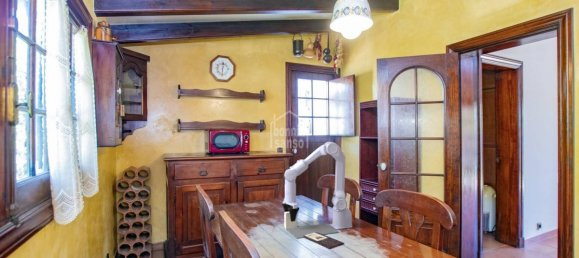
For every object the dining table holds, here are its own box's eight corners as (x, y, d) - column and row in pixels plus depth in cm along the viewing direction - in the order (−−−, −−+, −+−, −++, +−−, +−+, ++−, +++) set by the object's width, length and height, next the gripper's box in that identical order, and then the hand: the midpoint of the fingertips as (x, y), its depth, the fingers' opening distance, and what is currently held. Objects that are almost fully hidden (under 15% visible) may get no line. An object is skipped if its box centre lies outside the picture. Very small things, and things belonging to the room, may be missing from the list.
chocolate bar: (329, 247, 127) (302, 236, 141) (329, 250, 127) (302, 238, 141) (344, 242, 132) (316, 231, 147) (344, 245, 132) (316, 233, 147)
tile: (295, 226, 157) (295, 210, 157) (296, 227, 155) (296, 211, 155) (284, 227, 155) (284, 212, 155) (285, 228, 153) (285, 213, 153)
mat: (325, 224, 160) (325, 223, 160) (338, 232, 147) (338, 231, 147) (286, 229, 152) (286, 228, 152) (296, 238, 139) (296, 237, 139)
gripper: (278, 190, 161) (278, 216, 161) (287, 196, 147) (287, 224, 147) (290, 189, 163) (291, 214, 163) (301, 195, 149) (301, 222, 150)
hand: (290, 219), depth 155 cm, fingers open, 7 cm apart
